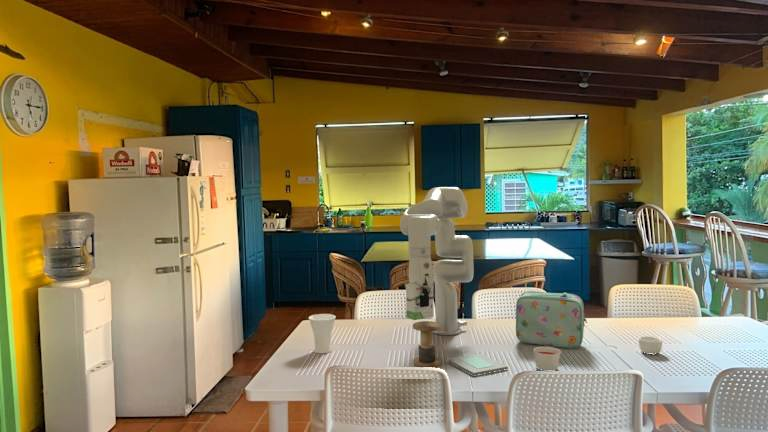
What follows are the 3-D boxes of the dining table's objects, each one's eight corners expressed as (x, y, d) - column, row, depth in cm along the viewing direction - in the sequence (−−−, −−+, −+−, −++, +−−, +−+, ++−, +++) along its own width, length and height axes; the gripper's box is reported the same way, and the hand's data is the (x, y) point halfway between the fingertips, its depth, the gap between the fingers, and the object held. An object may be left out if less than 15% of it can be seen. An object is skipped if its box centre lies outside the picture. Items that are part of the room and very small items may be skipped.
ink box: (414, 320, 178) (413, 285, 177) (405, 317, 182) (405, 283, 182) (434, 316, 183) (434, 282, 182) (426, 314, 187) (425, 280, 186)
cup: (314, 357, 200) (314, 321, 199) (305, 349, 209) (304, 315, 209) (340, 352, 205) (339, 318, 204) (330, 345, 214) (329, 312, 214)
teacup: (665, 356, 194) (665, 342, 194) (642, 356, 196) (643, 341, 195) (655, 348, 204) (655, 334, 204) (634, 348, 205) (634, 334, 205)
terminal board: (480, 356, 198) (480, 353, 198) (507, 369, 183) (507, 366, 183) (448, 362, 192) (448, 358, 192) (473, 376, 177) (473, 372, 177)
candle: (555, 363, 189) (555, 346, 188) (564, 372, 180) (564, 354, 179) (530, 364, 188) (530, 346, 188) (538, 373, 179) (538, 354, 179)
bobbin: (432, 357, 198) (431, 319, 197) (446, 365, 189) (446, 326, 188) (408, 361, 194) (407, 323, 193) (421, 369, 185) (421, 329, 184)
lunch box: (587, 344, 211) (587, 291, 210) (585, 351, 202) (585, 296, 201) (519, 337, 222) (519, 286, 221) (514, 344, 213) (514, 291, 212)
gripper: (441, 254, 175) (442, 308, 176) (418, 249, 191) (418, 298, 192) (421, 256, 172) (422, 311, 173) (399, 250, 188) (399, 301, 189)
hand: (420, 304), depth 182 cm, fingers closed on ink box, 5 cm apart
